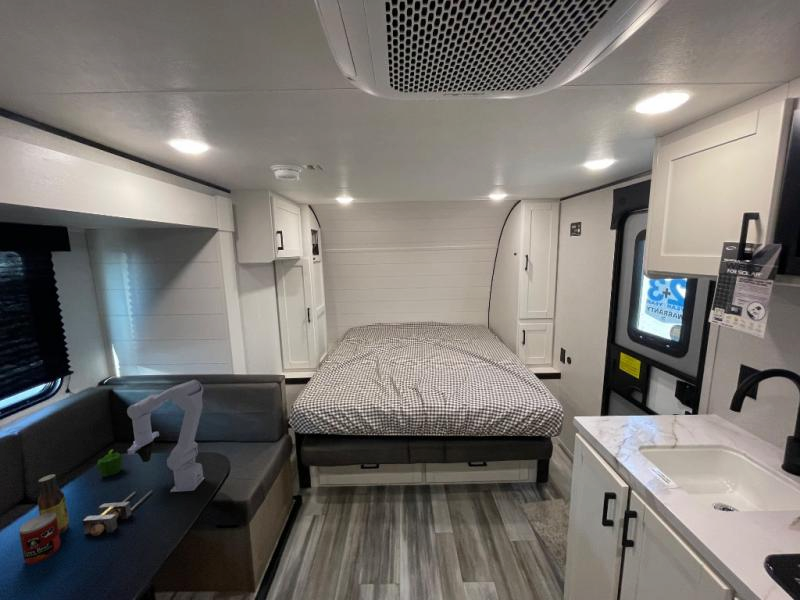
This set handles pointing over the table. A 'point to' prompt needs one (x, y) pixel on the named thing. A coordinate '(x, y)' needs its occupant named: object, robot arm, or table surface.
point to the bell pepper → (110, 464)
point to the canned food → (39, 538)
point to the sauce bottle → (53, 501)
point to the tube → (103, 523)
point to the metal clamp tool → (111, 519)
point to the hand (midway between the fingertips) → (146, 461)
